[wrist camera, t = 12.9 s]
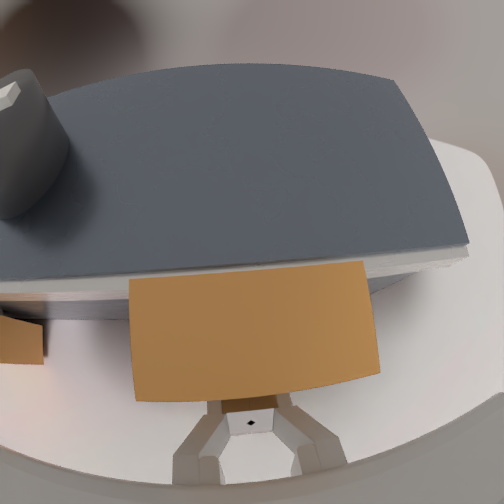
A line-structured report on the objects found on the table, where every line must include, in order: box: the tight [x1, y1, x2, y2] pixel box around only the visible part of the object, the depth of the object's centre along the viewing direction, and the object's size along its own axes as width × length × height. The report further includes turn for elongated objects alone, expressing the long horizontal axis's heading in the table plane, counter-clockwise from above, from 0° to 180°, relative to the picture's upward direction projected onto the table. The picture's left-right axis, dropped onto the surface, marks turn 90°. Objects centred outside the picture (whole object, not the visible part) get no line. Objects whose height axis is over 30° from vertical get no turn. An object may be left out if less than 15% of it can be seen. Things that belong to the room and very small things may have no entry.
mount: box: [0, 64, 469, 320], centre depth 12 cm, size 8×30×10 cm, turn 96°
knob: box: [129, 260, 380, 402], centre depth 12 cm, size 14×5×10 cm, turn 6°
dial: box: [0, 69, 69, 219], centre depth 6 cm, size 4×4×3 cm
